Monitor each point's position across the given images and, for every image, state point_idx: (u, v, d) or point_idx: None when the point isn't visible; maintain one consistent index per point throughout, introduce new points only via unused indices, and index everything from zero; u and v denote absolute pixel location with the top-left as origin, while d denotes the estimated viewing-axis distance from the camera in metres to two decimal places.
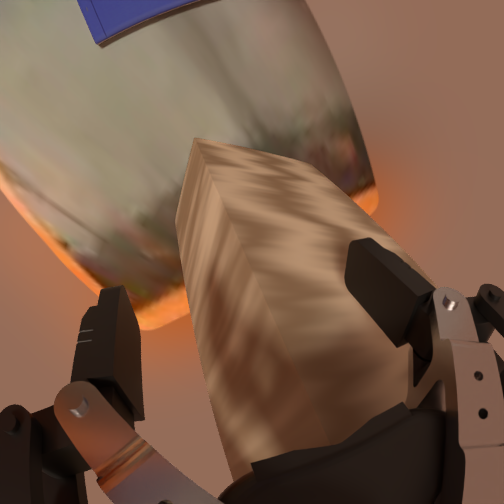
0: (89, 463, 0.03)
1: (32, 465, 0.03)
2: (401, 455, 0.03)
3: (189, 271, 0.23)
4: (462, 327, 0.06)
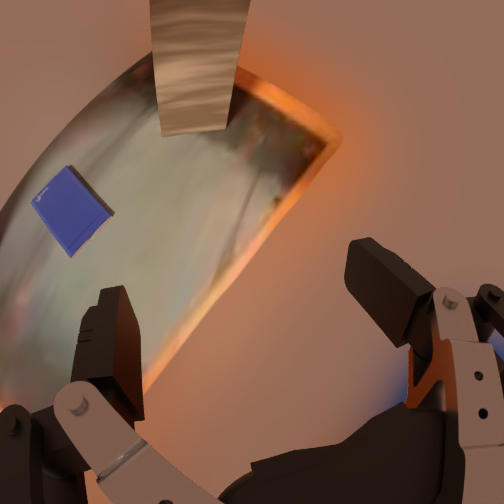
0: (89, 462, 0.03)
1: (32, 465, 0.03)
2: (401, 455, 0.03)
3: (220, 79, 0.32)
4: (462, 327, 0.06)
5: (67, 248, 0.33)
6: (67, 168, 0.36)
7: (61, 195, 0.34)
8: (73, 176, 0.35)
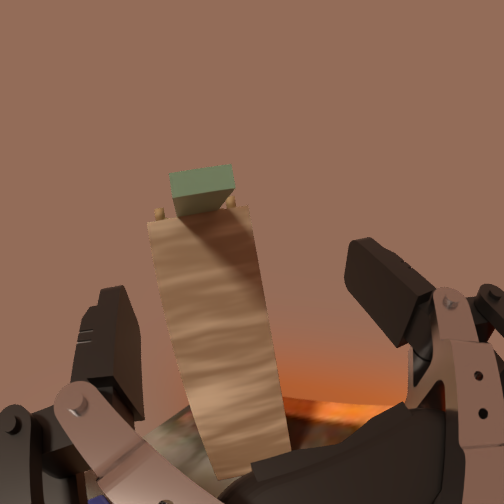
0: (89, 463, 0.03)
1: (32, 465, 0.03)
2: (401, 455, 0.03)
3: (266, 400, 0.29)
4: (462, 327, 0.06)
5: None
6: (103, 497, 0.22)
7: None
8: None
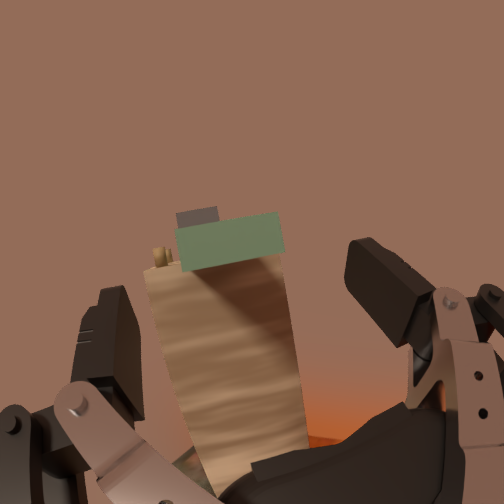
0: (89, 463, 0.03)
1: (32, 465, 0.03)
2: (401, 455, 0.03)
3: None
4: (462, 326, 0.06)
5: None
6: None
7: None
8: None
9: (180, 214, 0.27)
